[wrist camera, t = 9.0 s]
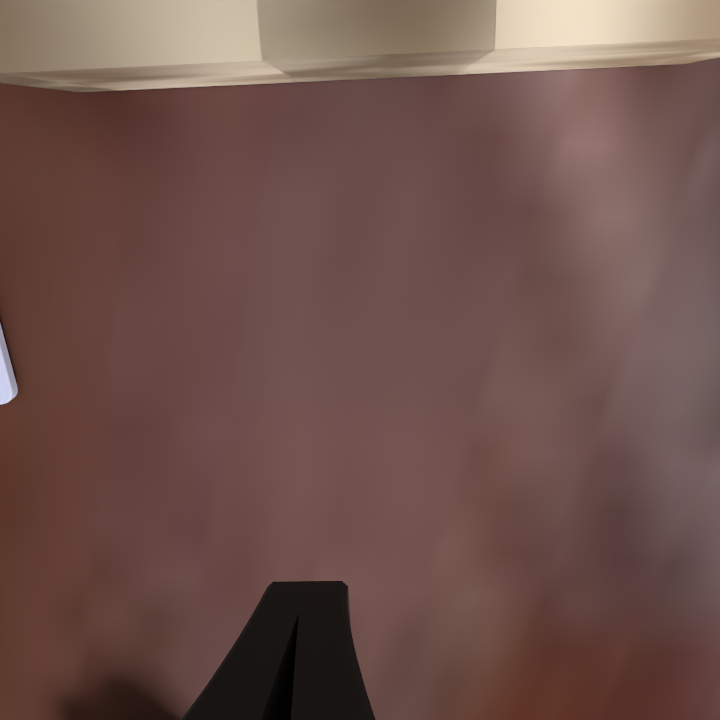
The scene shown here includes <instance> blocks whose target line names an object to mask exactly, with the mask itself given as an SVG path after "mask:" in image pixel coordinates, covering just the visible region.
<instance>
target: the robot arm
mask: <svg viewBox="0 0 720 720" xmlns="http://www.w3.org/2000/svg"><path fill="white" fill-rule="evenodd" d="M17 392H18V391H17V384H16V380H15V376H14V373H13V369H12V365H11V361H10V358H9V354H8V350H7V346H6V343H5V339H4V335H3V331H2V328H1V324H0V404H5V403H8V402H9V401H10V400H12V399H13V398H14V397H15V396H16V394H17ZM182 720H375V717H374V714H373V711H372V708H371V705H370V702H369V699H368V696H367V692H366V689H365V686H364V682H363V678H362V675H361V671H360V668H359V664H358V661H357V657H356V653H355V648H354V644H353V639H352V634H351V628H350V611H349V595H348V586H347V585H346V584H345V583H343V582H342V581H301V582H272V583H271V584H270V585H269V586H268V587H267V589H266V591H265V593H264V595H263V596H262V598H261V600H260V602H259V604H258V605H257V607H256V609H255V611H254V613H253V614H252V616H251V618H250V619H249V621H248V623H247V624H246V626H245V628H244V629H243V631H242V633H241V634H240V636H239V637H238V639H237V641H236V642H235V644H234V645H233V647H232V648H231V650H230V651H229V653H228V654H227V656H226V657H225V659H224V660H223V662H222V663H221V665H220V666H219V668H218V669H217V671H216V672H215V674H214V675H213V677H212V678H211V680H210V681H209V683H208V684H207V686H206V687H205V689H204V690H203V691H202V693H201V694H200V695H199V697H198V698H197V699H196V701H195V702H194V703H193V705H192V706H191V707H190V709H189V710H188V712H187V713H186V714H185V716H184V717H183V718H182Z"/></svg>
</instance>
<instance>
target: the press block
mask: <svg viewBox="0 0 720 720" xmlns="http://www.w3.org/2000/svg"><path fill="white" fill-rule="evenodd" d="M717 57H720V0H0V83H5V84H14V85H22V86H31V87H40V88H49V89H58V90H67V91H75V92H96V91H117V90H138V89H160V88H181V87H202V86H223V85H245V84H266V83H287V82H308V81H330V80H351V79H372V78H393V77H415V76H436V75H457V74H478V73H500V72H521V71H542V70H563V69H585V68H606V67H627V66H649V65H670V64H687V63H692V62H697V61H702V60H707V59H712V58H717Z"/></svg>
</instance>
